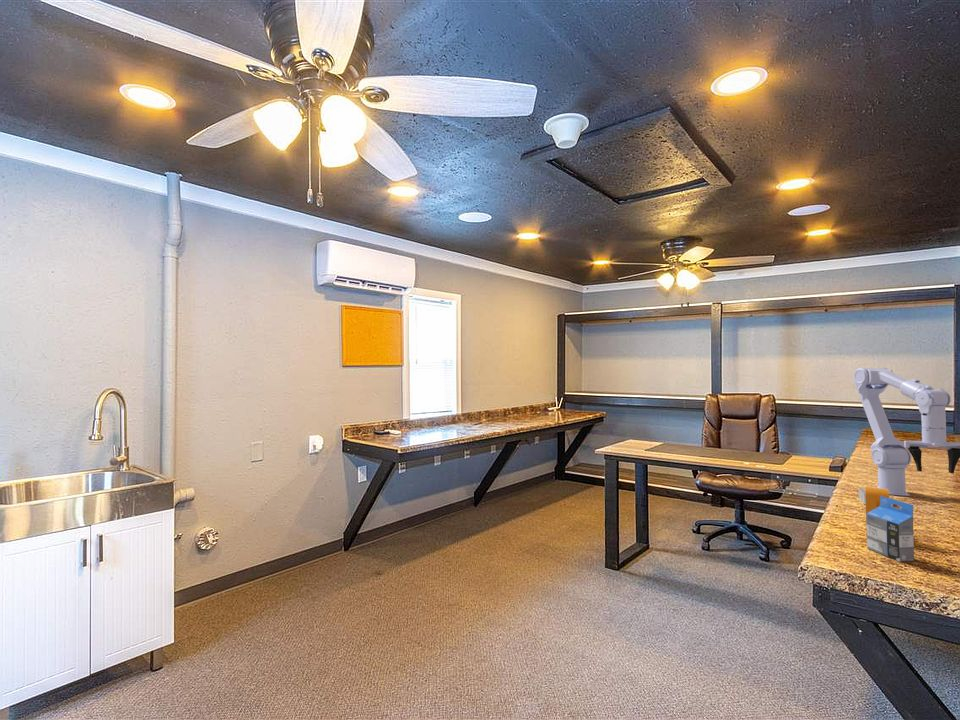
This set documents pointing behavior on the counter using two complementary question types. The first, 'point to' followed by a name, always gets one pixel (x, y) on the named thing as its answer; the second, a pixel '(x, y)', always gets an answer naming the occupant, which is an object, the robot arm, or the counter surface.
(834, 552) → the counter surface
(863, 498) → the chute mount
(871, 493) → the bracket
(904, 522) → the ink cartridge box
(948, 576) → the counter surface
